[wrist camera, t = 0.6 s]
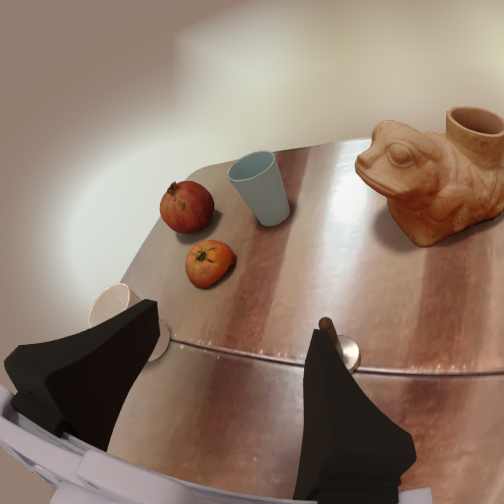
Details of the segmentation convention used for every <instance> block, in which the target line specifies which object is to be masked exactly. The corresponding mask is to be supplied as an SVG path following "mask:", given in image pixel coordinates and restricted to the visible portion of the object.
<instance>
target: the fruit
mask: <svg viewBox="0 0 504 504" xmlns="http://www.w3.org/2000/svg"><path fill="white" fill-rule="evenodd" d="M213 212H214V201H213V198H212V196H211V194H210V193H209V192H208V191H207V190H206V189H205V188H204V187H203V186H202V185H200V184H198V183H196V182H193V181H183V182H179V183H177V184H176V182H174V183H172V184H171V186H170V187H169V188H168V190H167V192H166V193H165V194H164V196H163V197H162V200H161V203H160V214H161V216H162V218H163V220H164V221H165V223H166V224H167V225H168V226H169V227H170V228H171V229H172V230H174V231H176V232H178V233H182V234H186V233H190V232H193V231H196V230H199V229H201V228H203V227H204V226H206V225H207V224H208V223H209V221H210V220H211V218H212V215H213Z"/></svg>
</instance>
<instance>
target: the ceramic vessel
mask: <svg viewBox="0 0 504 504" xmlns="http://www.w3.org/2000/svg"><path fill="white" fill-rule="evenodd" d="M355 170H356V173H357V174H358V175H359V176H360V178H361V179H362V180H363V181H364V182H365V183H366V184H367V185H368V186H370V187H371V188H372V189H374V190H375V191H376V192H378V193H380V194H381V195H383V196H385V197H387V204H388V206H389V209H390V212H391V214H392V216H393V218H394V220H395V221H396V223H397V224H398V225H399V227H400V228H401V229H402V230H403V232H404V233H405V234H406V235H407V236H408V237H409V238H410V240H411V241H412V242H413V243H414V244H416V245H417V246H419V247H431V246H433V245H434V244H436V243H437V242H438V241H440V240H442V239H444V238H446V237H448V236H451V235H454V234H456V233H458V232H460V231H462V230H464V229H466V228H469V227H471V226H474V225H477V224H479V223H482V222H485V221H493V220H494V219H495V218H496V217H497V216H499V215H500V213H501V212H502V211H503V209H504V120H503V118H501V117H500V116H499V115H498V114H496V113H494V112H492V111H489V110H487V109H483V108H478V107H465V106H459V107H453V108H451V109H449V111H447V116H446V134H437V133H433V132H426V133H425V134H422V133H421V132H419V131H417V130H416V129H414V128H412V127H410V126H408V125H406V124H404V123H401V122H397V121H393V120H387V121H383V122H381V123H379V124H378V125H377V126H376V127H375V129H374V131H373V133H372V143H371V146H370V148H369V149H368V150H366V151H364V152H363V153H361V154H359V155H358V156H357V159H356V162H355Z"/></svg>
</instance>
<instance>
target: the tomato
mask: <svg viewBox="0 0 504 504" xmlns="http://www.w3.org/2000/svg"><path fill="white" fill-rule="evenodd" d="M235 260H236V255H235V254H234V253H233V251H232V250H231V249H230V247H228V246H227V245H226V244H225V243H222V242H220V241H215V240H209V241H204V242H201V243H199V244H197V245H195V246H194V247H193V248H192V249H191V250H190V252H189V254H188V256H187V259H186V273H187V276H188V278H189V280H190V281H191V282H192V283H193V284H194V285H196V286H197V287H199V288H202V289H204V288H205V289H206V288H208V287H210V286H211V285H212V284H213V283H214V282H215V281H218V279H220V278H222V275H224V274H225V271H226V270H227V269H228V266H229V265H230V266H231V263H232V264H233V265H235ZM233 268H234V266H233Z"/></svg>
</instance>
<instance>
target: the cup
mask: <svg viewBox="0 0 504 504" xmlns="http://www.w3.org/2000/svg"><path fill="white" fill-rule="evenodd" d="M227 177H228V179H229V180H230V181H231V183H232V184H233V185H234V187H235V188H236V189H237V190H238V192H239V193H240V195H241V196H242V197H243V199H244V200H245V202H246V203H247V204H248V206H249V207H250V209H251V210H252V211H253V213H254V214H255V216H256V217H257V219H258V220H259V221H260V223H261V224H262V225H265V226H275V225H278V224H280V223H282V222H283V221H284V220H286V219H287V217H288V216H289V214H290V207H289V203H288V200H287V196H286V192H285V189H284V185H283V182H282V178H281V175H280V171H279V168H278V164H277V161H276V157H275V155H274V154H273V153H272V152H270V151H258V152H254V153H251V154H248V155H246V156H244V157H242V158H240V159H239V160H237V161H236V162H235V163H234V164H233V165H232V166H231V167H230V168H229V170H228V172H227Z"/></svg>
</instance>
